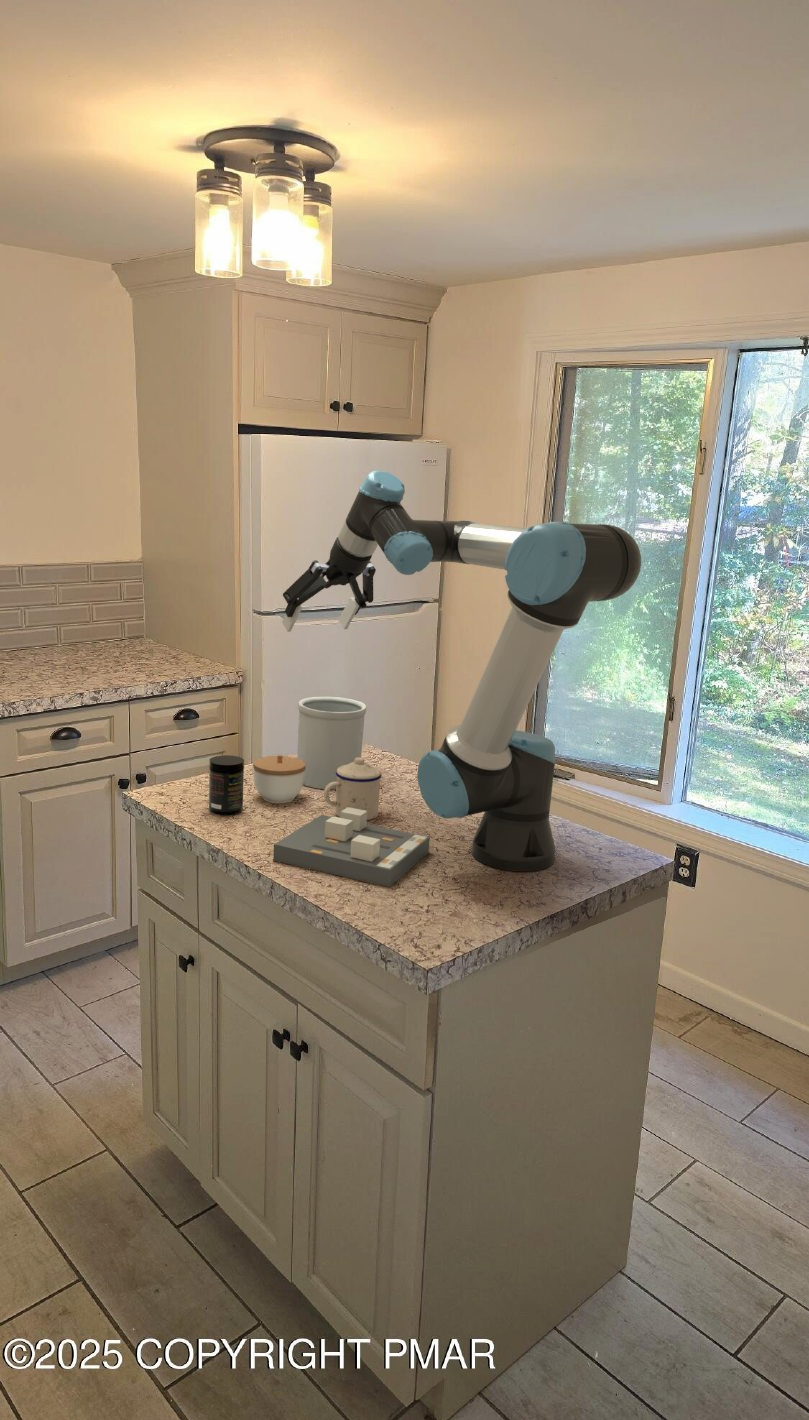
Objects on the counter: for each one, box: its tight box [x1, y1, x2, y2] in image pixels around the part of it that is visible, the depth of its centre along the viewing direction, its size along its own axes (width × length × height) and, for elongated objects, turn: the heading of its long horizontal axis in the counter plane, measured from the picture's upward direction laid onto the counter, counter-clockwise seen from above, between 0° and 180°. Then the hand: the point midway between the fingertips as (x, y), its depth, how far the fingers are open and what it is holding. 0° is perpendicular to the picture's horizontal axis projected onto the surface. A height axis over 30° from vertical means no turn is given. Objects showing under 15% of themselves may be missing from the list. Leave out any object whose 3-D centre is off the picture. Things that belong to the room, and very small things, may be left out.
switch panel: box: [272, 814, 431, 888], centre depth 173 cm, size 22×18×3 cm
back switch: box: [339, 807, 368, 831], centre depth 179 cm, size 4×3×3 cm
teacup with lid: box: [323, 756, 382, 821], centre depth 193 cm, size 12×9×12 cm
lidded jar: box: [252, 754, 306, 805], centre depth 201 cm, size 11×11×9 cm
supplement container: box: [208, 754, 245, 816], centre depth 192 cm, size 7×7×10 cm
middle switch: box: [325, 816, 353, 841], centre depth 174 cm, size 4×3×3 cm
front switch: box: [350, 835, 380, 862], centre depth 165 cm, size 4×3×3 cm
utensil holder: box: [296, 696, 367, 791], centre depth 214 cm, size 15×15×18 cm
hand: (315, 625), depth 198 cm, fingers open, 13 cm apart
